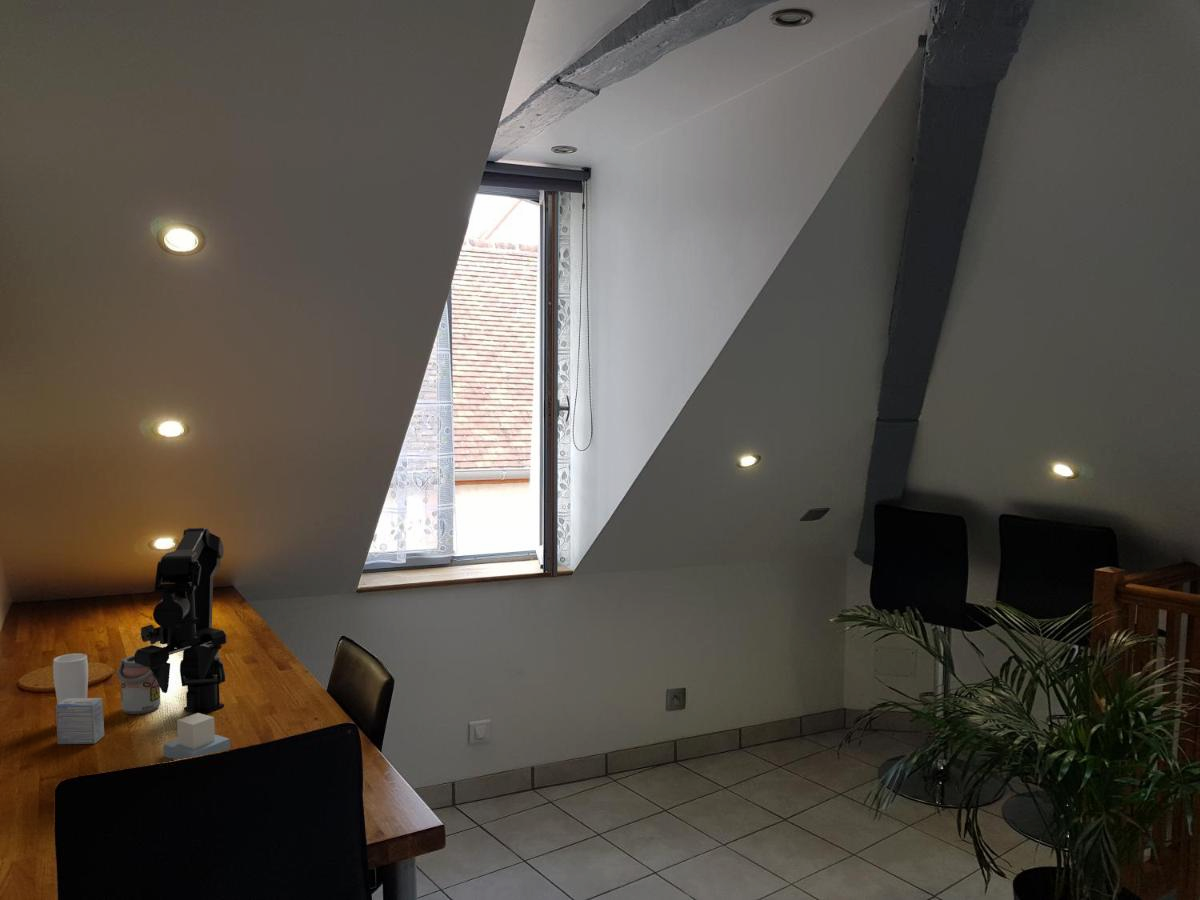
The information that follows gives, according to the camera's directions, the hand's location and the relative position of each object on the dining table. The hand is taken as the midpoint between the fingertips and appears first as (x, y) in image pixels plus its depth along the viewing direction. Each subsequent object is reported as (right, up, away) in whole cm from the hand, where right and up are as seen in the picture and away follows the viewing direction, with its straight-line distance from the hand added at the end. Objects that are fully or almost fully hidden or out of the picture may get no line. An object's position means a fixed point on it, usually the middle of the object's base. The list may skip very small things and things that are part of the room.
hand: (183, 685), depth 208 cm
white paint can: (-18, -10, +19) cm, 28 cm away
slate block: (+5, -13, -6) cm, 15 cm away
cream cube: (+6, -10, -7) cm, 13 cm away
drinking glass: (-29, -11, +10) cm, 33 cm away
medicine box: (-22, -12, 0) cm, 25 cm away
